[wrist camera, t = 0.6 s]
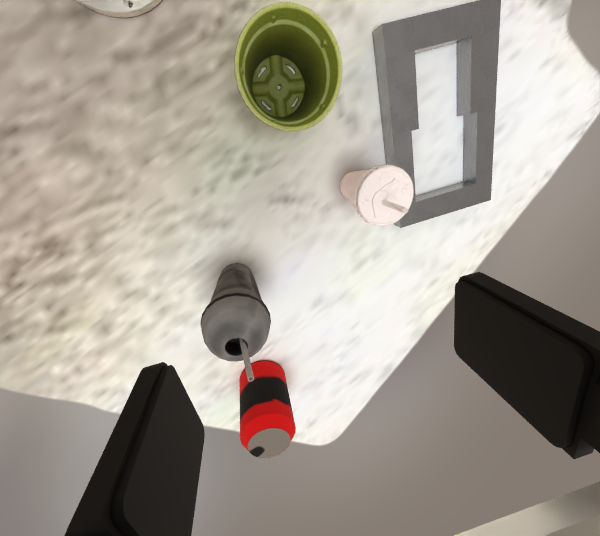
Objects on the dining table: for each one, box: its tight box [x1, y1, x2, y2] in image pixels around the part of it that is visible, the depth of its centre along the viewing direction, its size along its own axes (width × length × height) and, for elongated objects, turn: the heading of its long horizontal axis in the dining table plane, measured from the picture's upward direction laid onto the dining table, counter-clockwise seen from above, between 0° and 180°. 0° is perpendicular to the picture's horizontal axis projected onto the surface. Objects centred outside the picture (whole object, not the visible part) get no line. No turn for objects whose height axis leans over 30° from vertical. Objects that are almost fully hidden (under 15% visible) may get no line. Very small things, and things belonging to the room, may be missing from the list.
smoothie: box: [340, 165, 414, 226], centre depth 32 cm, size 6×6×14 cm
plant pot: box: [235, 2, 342, 131], centre depth 29 cm, size 9×9×9 cm
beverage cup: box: [201, 263, 271, 381], centre depth 32 cm, size 7×7×20 cm
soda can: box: [240, 361, 296, 458], centre depth 43 cm, size 8×8×12 cm
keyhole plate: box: [373, 0, 501, 228], centre depth 37 cm, size 23×14×2 cm, turn 14°
